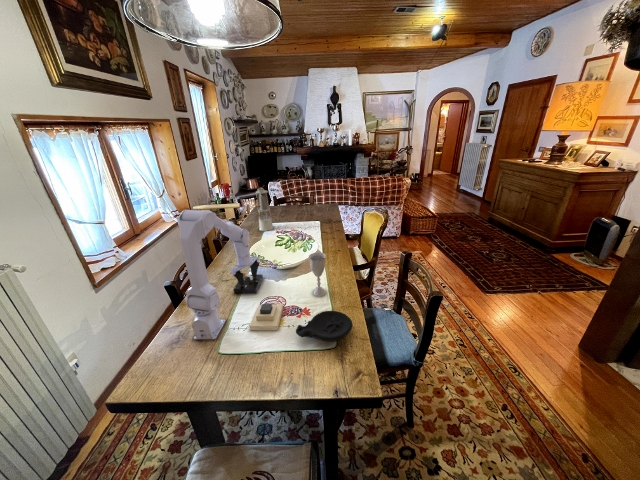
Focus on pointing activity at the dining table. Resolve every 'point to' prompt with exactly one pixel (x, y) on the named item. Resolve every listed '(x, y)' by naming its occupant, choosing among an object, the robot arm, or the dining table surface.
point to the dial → (248, 278)
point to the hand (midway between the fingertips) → (248, 280)
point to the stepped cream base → (267, 318)
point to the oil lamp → (326, 326)
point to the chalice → (318, 270)
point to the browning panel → (249, 286)
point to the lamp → (264, 221)
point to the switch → (266, 308)
